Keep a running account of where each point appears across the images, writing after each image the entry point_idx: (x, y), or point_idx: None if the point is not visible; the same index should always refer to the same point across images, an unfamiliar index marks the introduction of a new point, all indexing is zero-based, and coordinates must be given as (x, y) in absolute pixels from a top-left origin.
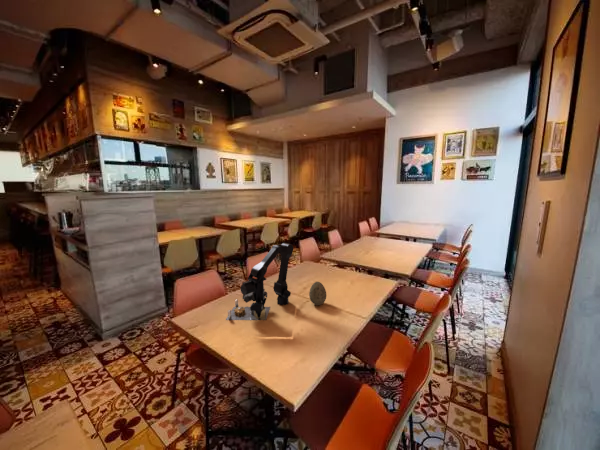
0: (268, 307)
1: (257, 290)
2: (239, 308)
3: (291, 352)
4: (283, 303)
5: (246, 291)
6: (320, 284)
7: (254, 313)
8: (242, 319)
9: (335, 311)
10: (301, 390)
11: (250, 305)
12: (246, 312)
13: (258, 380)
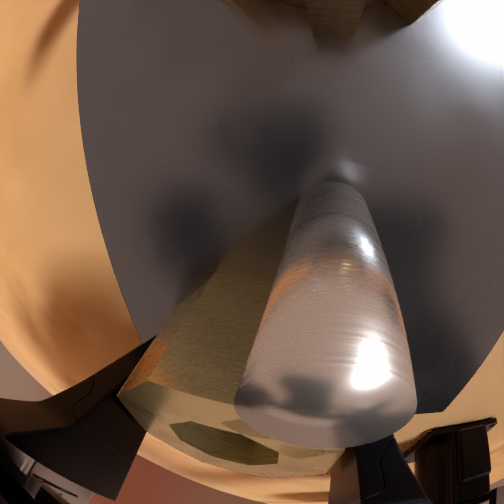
0: (438, 402)
1: None
2: None
3: (54, 380)
4: (416, 469)
5: None
6: None
7: (189, 310)
8: (88, 92)
9: (300, 499)
10: (15, 357)
11: (285, 375)
12: (365, 63)
13: None
